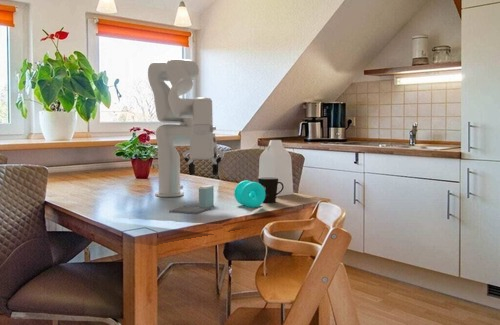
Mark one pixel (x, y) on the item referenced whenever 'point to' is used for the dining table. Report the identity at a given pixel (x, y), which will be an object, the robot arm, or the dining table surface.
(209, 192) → the slab
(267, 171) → the milk
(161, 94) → the robot arm
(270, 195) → the coffee mug
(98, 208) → the dining table surface
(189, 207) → the mat
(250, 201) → the teal spool
